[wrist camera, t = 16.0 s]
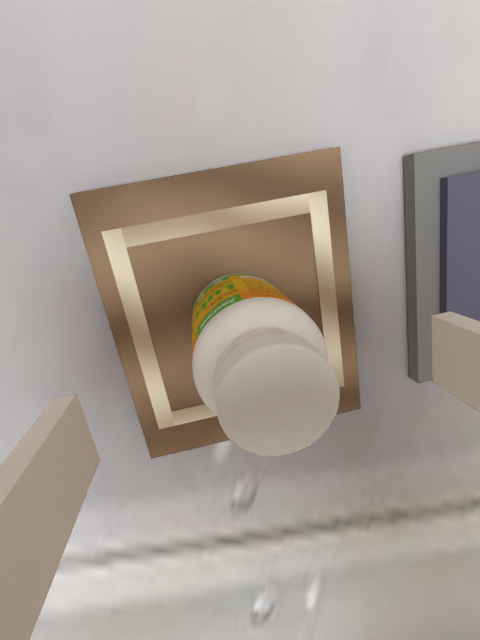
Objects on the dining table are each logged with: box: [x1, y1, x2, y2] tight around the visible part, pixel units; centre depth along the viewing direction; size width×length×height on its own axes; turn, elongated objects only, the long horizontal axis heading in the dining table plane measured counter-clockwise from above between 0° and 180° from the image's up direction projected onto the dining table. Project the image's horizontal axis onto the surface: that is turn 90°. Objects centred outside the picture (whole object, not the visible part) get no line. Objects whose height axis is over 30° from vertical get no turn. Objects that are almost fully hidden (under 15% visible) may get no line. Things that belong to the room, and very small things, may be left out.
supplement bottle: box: [192, 273, 340, 456], centre depth 15 cm, size 5×5×10 cm
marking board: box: [69, 147, 361, 459], centre depth 20 cm, size 16×14×1 cm
